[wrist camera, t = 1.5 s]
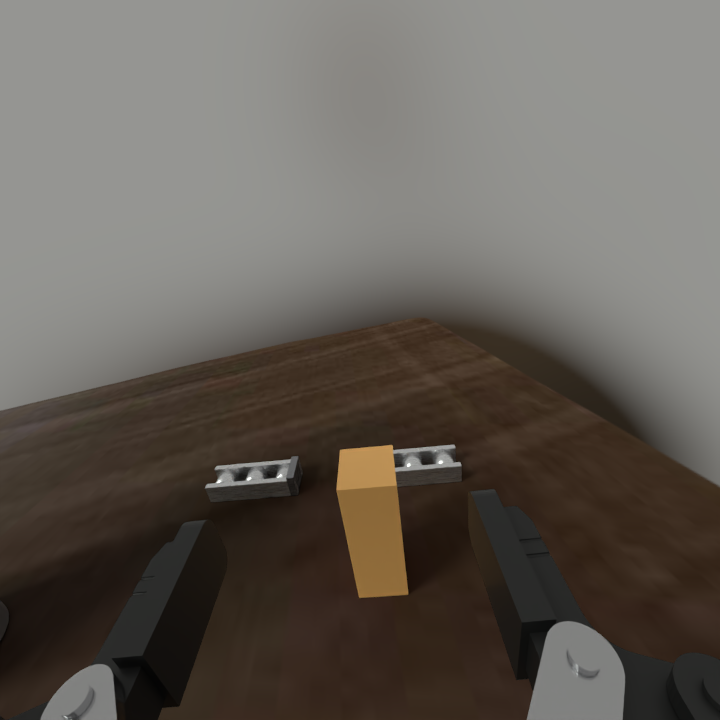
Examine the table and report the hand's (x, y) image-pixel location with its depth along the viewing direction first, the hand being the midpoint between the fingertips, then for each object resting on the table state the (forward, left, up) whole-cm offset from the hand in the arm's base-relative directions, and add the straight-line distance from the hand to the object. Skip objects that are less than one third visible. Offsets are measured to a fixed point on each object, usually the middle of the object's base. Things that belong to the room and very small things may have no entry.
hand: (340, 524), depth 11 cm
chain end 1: (-14, +23, -20) cm, 33 cm away
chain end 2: (+4, +23, -20) cm, 31 cm away
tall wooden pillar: (0, +12, -20) cm, 23 cm away
